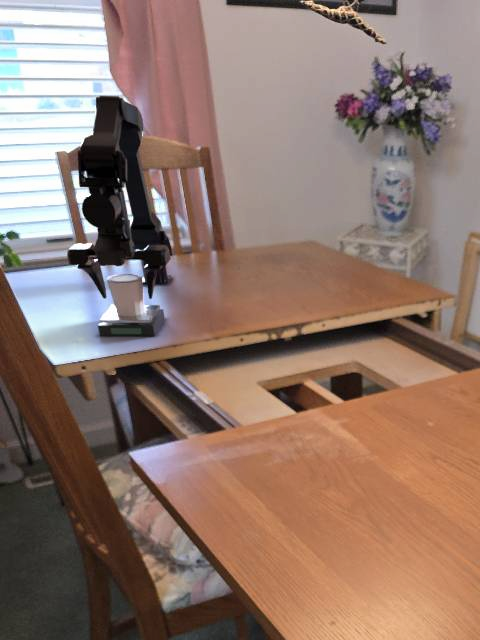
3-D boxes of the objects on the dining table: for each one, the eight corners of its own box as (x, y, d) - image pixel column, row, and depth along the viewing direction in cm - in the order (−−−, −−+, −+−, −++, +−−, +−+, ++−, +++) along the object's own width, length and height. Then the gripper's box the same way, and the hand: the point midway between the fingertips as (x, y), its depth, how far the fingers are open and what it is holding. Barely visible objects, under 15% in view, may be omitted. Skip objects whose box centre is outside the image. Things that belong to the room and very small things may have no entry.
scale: (113, 318, 154) (110, 306, 152) (164, 319, 155) (163, 307, 153) (99, 336, 144) (96, 324, 143) (154, 336, 145) (152, 324, 144)
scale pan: (112, 307, 152) (111, 304, 151) (160, 307, 153) (159, 305, 152) (100, 322, 144) (99, 319, 143) (150, 323, 145) (150, 320, 144)
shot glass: (153, 308, 150) (147, 274, 146) (140, 318, 145) (133, 283, 141) (122, 306, 151) (115, 272, 147) (108, 316, 145) (100, 281, 141)
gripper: (49, 225, 130) (69, 310, 139) (153, 226, 131) (166, 310, 140) (67, 212, 139) (85, 293, 148) (164, 214, 140) (176, 294, 149)
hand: (128, 298), depth 146 cm, fingers open, 9 cm apart
